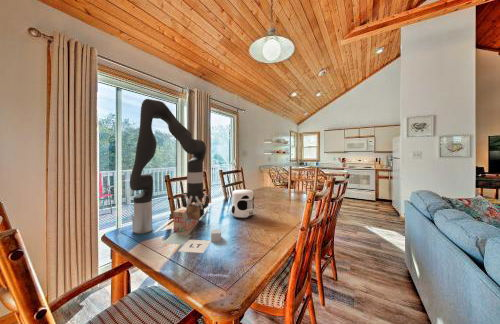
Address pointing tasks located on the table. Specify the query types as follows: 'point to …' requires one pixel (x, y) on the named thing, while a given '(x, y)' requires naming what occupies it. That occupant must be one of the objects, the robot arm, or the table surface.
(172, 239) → the grey-green mat
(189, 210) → the walnut block
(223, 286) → the table surface
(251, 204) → the milk container
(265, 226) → the table surface
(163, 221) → the table surface
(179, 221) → the stack of blocks
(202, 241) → the tile
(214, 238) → the grey block
